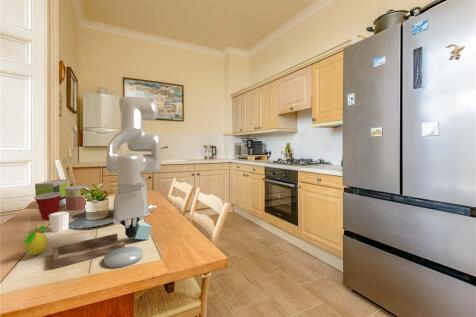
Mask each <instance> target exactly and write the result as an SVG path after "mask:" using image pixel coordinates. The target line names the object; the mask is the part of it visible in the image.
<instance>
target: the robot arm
mask: <svg viewBox="0 0 476 317" xmlns="http://www.w3.org/2000/svg"><path fill="white" fill-rule="evenodd" d="M118 105H119V106H118V107H119V109H120V111H121V112H120V113H121V120H120V121H121V123H120V130H119V132H117V133H116V134H115V135H114V136H113V137H112V138H111V140H110V141H109V143H108V145H107V148H106V158H105V165H106V166H105V167H106V169H107V171H108V172H110V173H111V174H112V173H117V192H115V194H114V197H113V211H112V212H113V214H112V215H113V224H114V225H122V226H123V227H125V228H124V229H125V231H124V233H125V236H126V237H127V238H128V239H131V238H134V234H135V226H136V224H137V223H138V222H139V223H140V221H141V220H144V219H145V218H146V217H148V216H149V215H151V210H156V209H157V205H156V204H154V205H152V204H148V186H147V184H148V183H147V182H148V181H147V179H146V177H145V176H144V175H143V173H157V172H160V170H161V167H162V160H161V158H162V155H161V152H162V150H161V148H162V147H161V138H160V136H159V134H157V133H153V132H150V133H149V132H147V133H146V129H145V128H146V125H145V122H144V121H155V120H156V119H157V117H158V113H159V112H158V111H159V110H158V109H159V108H158V101H157V100H156V99H155V98H153V97H142V96H141V97H139V96H122V97H120V98H119V100H118ZM124 144H127V146H126V147H127V149H128V151H131V152H146V154H145V153H116V152H117V149H119V147H121V146H122V145H124ZM147 152H149V153H147ZM129 220H130V221H129ZM129 222H130V223H129Z"/></svg>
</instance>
